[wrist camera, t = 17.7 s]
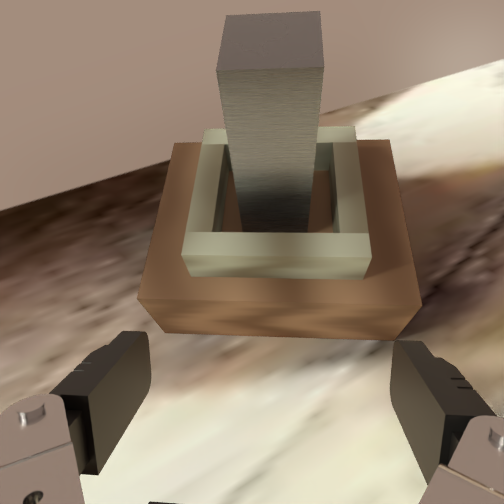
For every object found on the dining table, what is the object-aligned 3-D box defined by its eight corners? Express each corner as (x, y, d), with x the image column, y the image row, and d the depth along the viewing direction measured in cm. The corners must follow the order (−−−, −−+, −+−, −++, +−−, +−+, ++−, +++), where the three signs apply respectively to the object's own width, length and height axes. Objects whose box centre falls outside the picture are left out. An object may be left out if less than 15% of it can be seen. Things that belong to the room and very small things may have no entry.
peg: (243, 235, 23) (216, 70, 14) (247, 187, 25) (226, 15, 16) (307, 235, 23) (324, 66, 13) (305, 186, 25) (320, 11, 15)
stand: (165, 332, 26) (120, 278, 19) (191, 194, 33) (165, 115, 26) (393, 340, 25) (439, 285, 18) (372, 193, 32) (398, 110, 24)
